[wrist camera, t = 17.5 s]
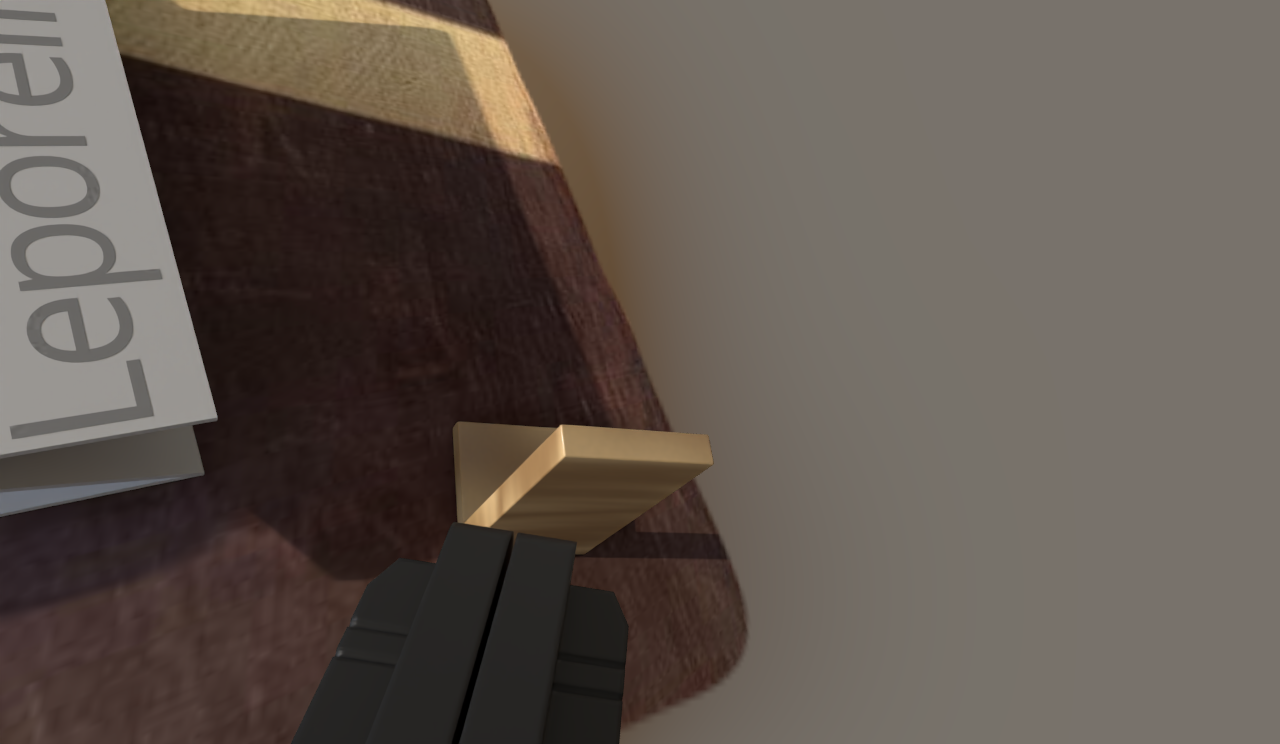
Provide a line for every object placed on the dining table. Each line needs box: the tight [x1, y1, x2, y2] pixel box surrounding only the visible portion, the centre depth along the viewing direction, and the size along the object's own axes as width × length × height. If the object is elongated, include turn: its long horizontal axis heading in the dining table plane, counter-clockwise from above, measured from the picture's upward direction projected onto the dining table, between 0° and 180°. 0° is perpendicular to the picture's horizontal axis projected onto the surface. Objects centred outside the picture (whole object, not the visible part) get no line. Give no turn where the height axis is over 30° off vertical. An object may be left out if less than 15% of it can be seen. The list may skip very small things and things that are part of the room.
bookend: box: [453, 421, 714, 554], centre depth 36 cm, size 6×6×11 cm
